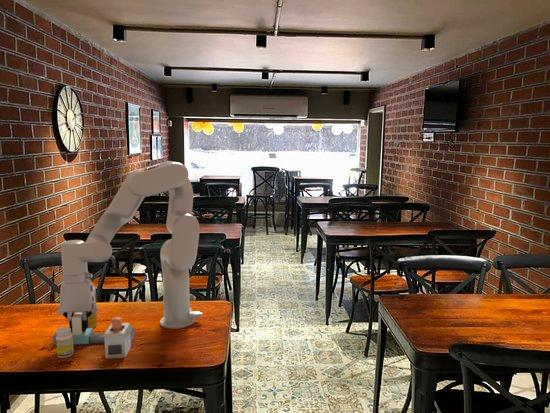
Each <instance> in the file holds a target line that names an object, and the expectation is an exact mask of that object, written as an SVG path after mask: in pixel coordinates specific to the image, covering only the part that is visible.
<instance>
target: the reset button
mask: <svg viewBox="0 0 550 413" xmlns="http://www.w3.org/2000/svg"><path fill="white" fill-rule="evenodd" d="M122 323H123V317H122V316H114V317H112V318H111V324H112V331H122V330H123V329H122Z"/></svg>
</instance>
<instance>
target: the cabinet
mask: <svg viewBox="0 0 550 413" xmlns="http://www.w3.org/2000/svg"><path fill="white" fill-rule="evenodd" d="M130 327H131V322H122V329H123V330H122V331H112V323H110V324H109V326H108V327H107V329H106V330H105V332H104V333H105V334H104V341H105V343H104V354H105V357H104V358H105V359H122V358H126V357H127V355H128V353H129V351H130V349H131V346H132V342H131V334H130Z"/></svg>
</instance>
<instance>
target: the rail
mask: <svg viewBox="0 0 550 413" xmlns="http://www.w3.org/2000/svg"><path fill="white" fill-rule="evenodd" d="M104 334H105V332H103V333H93V334H91V335H90V336H89V344H100V343H101V344H105V341H104ZM130 334H131V343H132V342H133V340H134V338H135V326H133V325H131V326H130ZM56 336H57V331H56V332H55V333H54V334H53V335H52V343H53V347H57V346H56Z"/></svg>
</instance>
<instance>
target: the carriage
mask: <svg viewBox="0 0 550 413" xmlns="http://www.w3.org/2000/svg"><path fill="white" fill-rule="evenodd" d="M82 320H83V317H82V312H81V313H79V312H74V316H73V317H72V331H73V332H71V334H72V337H73V345H89V344H90V343H89V336H90V335H91V334H94V328H87V329H86V331H85V332H82Z"/></svg>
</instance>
